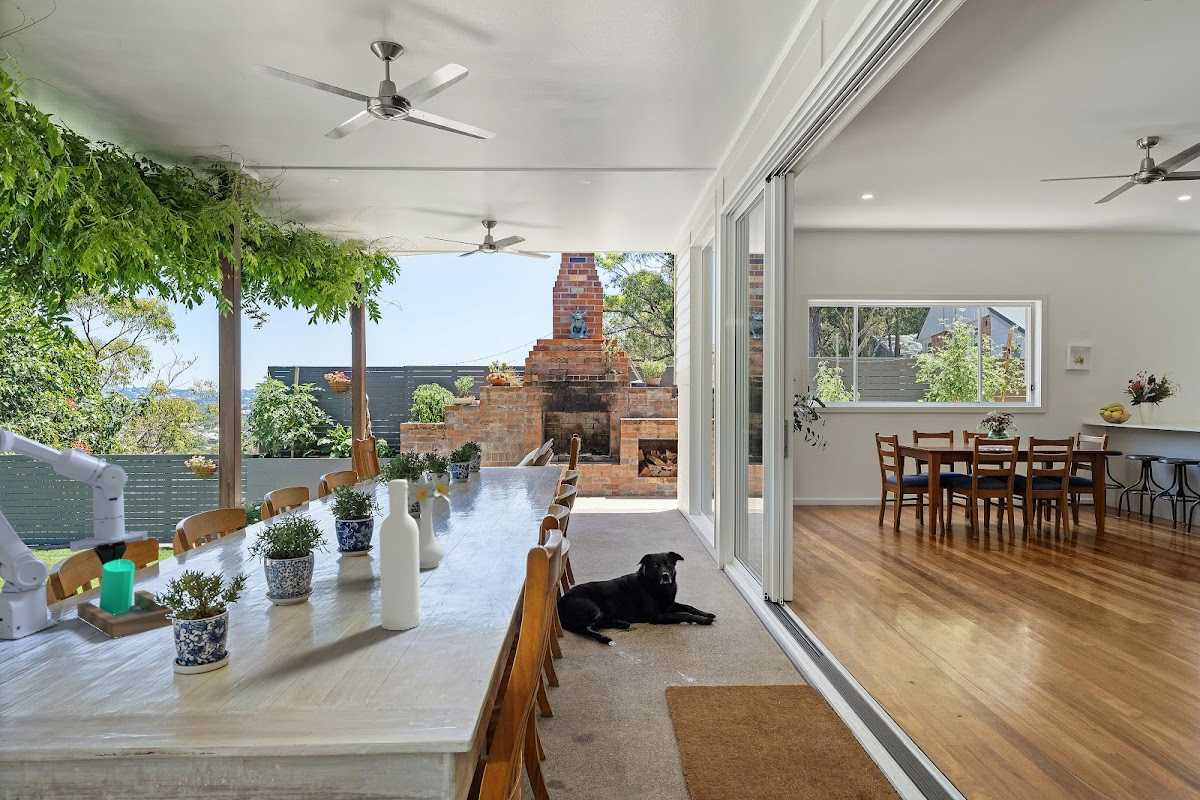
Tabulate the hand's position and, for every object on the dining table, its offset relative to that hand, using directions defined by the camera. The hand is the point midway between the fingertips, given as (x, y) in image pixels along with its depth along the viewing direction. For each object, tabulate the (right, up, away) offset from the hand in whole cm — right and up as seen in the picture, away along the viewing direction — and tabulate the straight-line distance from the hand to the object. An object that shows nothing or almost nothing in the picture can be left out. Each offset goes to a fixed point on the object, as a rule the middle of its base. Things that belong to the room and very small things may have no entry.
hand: (111, 577), depth 164 cm
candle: (+2, -7, -1) cm, 7 cm away
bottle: (+68, -7, -13) cm, 70 cm away
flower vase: (+62, -6, +35) cm, 71 cm away
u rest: (+8, -7, -7) cm, 13 cm away
